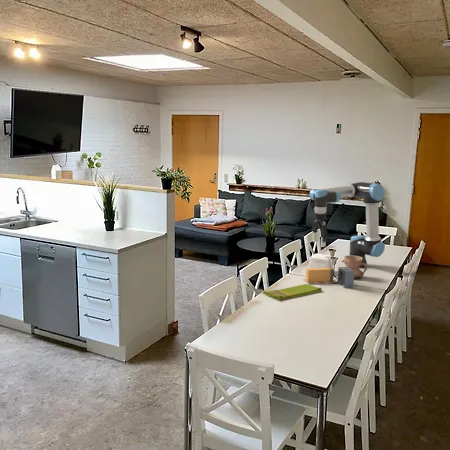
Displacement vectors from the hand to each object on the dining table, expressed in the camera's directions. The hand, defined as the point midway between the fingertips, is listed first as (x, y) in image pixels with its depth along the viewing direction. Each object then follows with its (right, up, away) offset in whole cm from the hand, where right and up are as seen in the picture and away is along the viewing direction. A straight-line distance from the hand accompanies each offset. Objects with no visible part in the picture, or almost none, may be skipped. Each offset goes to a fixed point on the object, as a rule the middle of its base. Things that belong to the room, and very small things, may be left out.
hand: (318, 244), depth 308 cm
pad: (+1, -25, +1) cm, 25 cm away
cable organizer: (+6, -21, +25) cm, 33 cm away
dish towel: (-21, -30, -23) cm, 43 cm away
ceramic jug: (+26, -24, +13) cm, 38 cm away
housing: (+16, -27, -6) cm, 32 cm away
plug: (0, -24, +1) cm, 24 cm away
